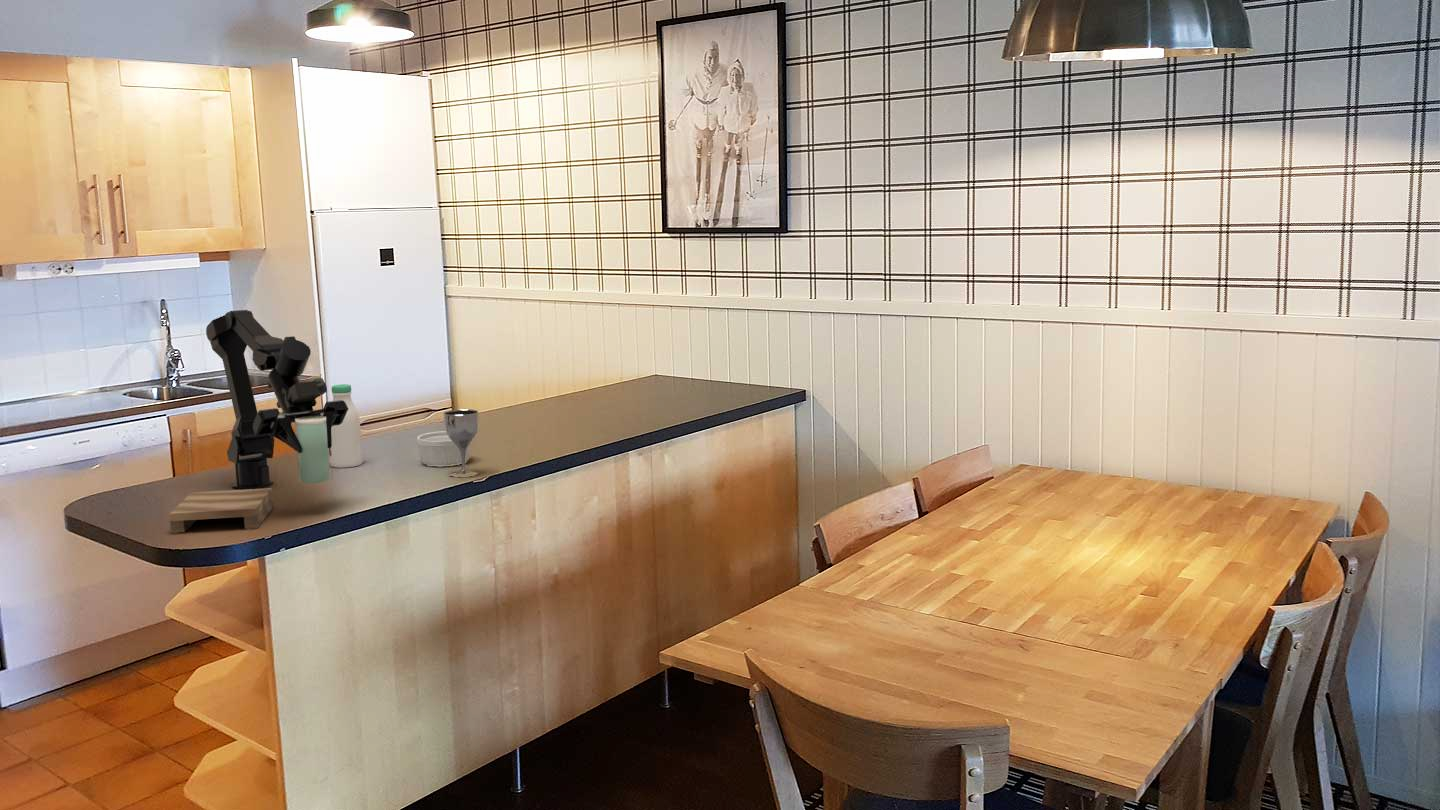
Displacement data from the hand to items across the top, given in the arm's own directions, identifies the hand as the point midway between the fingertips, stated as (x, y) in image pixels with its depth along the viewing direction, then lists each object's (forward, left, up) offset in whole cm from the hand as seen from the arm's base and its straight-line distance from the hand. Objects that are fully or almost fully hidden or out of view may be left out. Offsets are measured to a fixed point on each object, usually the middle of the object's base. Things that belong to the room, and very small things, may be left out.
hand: (315, 449), depth 239 cm
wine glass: (+12, +40, -14) cm, 44 cm away
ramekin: (+1, +51, -14) cm, 53 cm away
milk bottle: (-22, +43, -14) cm, 50 cm away
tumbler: (-1, +1, -7) cm, 7 cm away
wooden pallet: (-16, -9, -13) cm, 23 cm away
